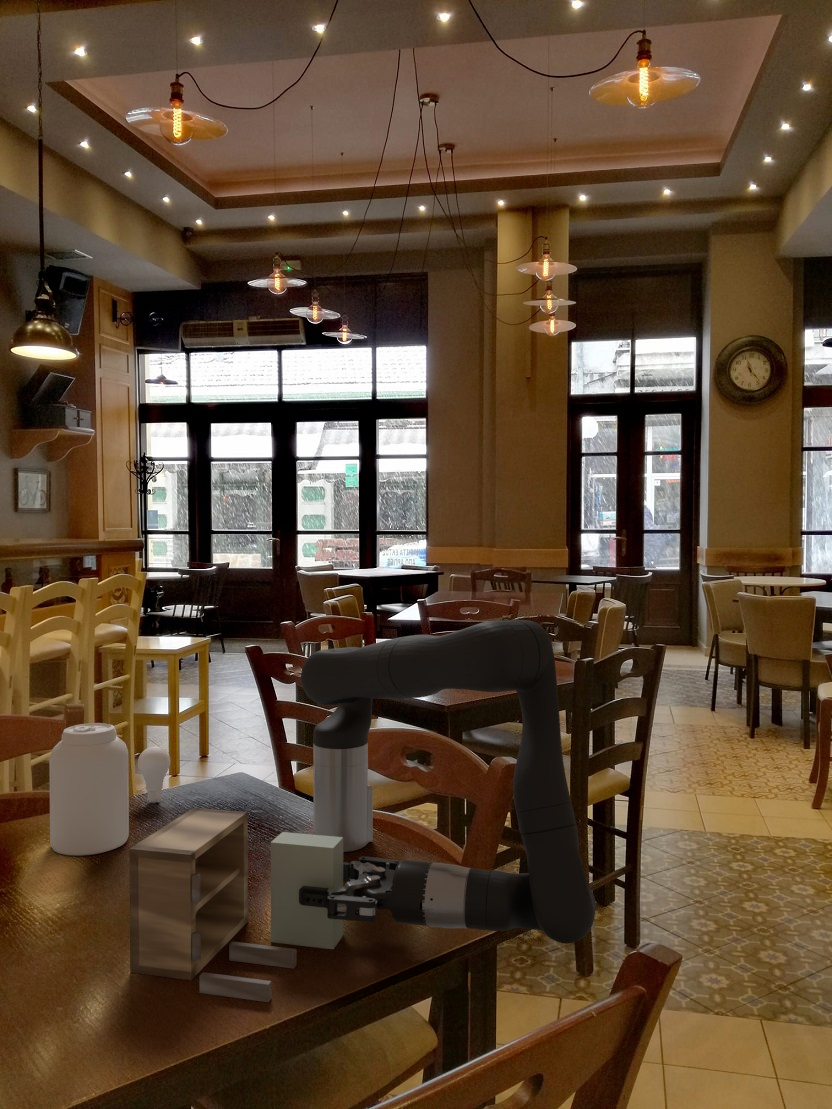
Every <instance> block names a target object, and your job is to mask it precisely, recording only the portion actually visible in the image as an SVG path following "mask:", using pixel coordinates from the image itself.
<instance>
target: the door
mask: <svg viewBox="0 0 832 1109" xmlns="http://www.w3.org/2000/svg"><path fill="white" fill-rule="evenodd" d="M343 862H344V852H343V837H334V836H323V835H314V834H311V833H309V834H308V833H300V832H286V831H282V832H281V833H280V834H278V835H277V836H276V837H275V838H274V839H273V840H271V842H270V942H271V943H276V944H285V945H293V946H302V947H311V948H316V949H317V948H319V949H325V950H326V949H327V950H328V949H329V950H335V948H336V947H337V945H338V943H340V941H341V939H342V938H343V937H344V920H339V919H329V918H328V917H327V908H323V907H313V906H304V905H301V904H300V903H299V889H300V888H301V887H302V886H312V887H321V888H329V889H333V888H339V887H343V886H344V881H343ZM339 896H344V894H343V895H339ZM341 912H344V910H341Z"/></svg>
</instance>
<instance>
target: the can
mask: <svg viewBox="0 0 832 1109" xmlns="http://www.w3.org/2000/svg"><path fill="white" fill-rule="evenodd" d="M48 759H49V763H48V765H49V767H48V768H49V837H50V838H49V841H50V842H49V845H50V846H51V848H52V850H53V851H54V852H56V853H58V854H60V855H65V856H91V855H97V854H102V853H105V852H110V851H112V850H114V849H117V848H119V847H121V846H123V845H124V844H125V843H127V841H128V838H129V835H130V823H129V822H130V821H129V820H130V819H129V818H130V817H129V816H130V815H129V814H130V811H129V810H130V808H129V805H130V804H129V800H130V799H129V750H128V747H127V745H126V742H125V741H123V740H122V739H121V738H120V737H119V736H117V729H116V727H115V726H114V725H113V724H109V723H105V722H104V723H103V722H92V723H90V722H89V723H80V724H75V725H71V726H69V727H66V728H64V729H63V732H62V733H61V740H59V742H58V743H57V744H56V745H55V746H53V748H52V750H51V753H50V756H49V758H48Z"/></svg>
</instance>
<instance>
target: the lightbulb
mask: <svg viewBox="0 0 832 1109" xmlns="http://www.w3.org/2000/svg"><path fill="white" fill-rule="evenodd" d="M137 767H138V771H139V772H140V774H141V776H142V777H143V780H144V783H145V790H146V794H147V795H146V796H147V800H148V801H149V802H151V803H152V804H156V803H158V802H159V801H160V800H161V799H162V789H163V787H164V781H165V780H164V779H165V777H166V774H167V773H168V771H169V770H170V769H169V768H170V767H171V757H170V755H169V753H168V752H167V750H166V749H164V748H163V747H160V746H150V747H147V748H146V749H144V750H143V751H142V752H141V753H140V755H139V756H138V759H137Z"/></svg>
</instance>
